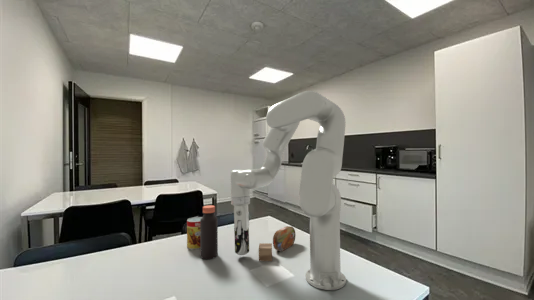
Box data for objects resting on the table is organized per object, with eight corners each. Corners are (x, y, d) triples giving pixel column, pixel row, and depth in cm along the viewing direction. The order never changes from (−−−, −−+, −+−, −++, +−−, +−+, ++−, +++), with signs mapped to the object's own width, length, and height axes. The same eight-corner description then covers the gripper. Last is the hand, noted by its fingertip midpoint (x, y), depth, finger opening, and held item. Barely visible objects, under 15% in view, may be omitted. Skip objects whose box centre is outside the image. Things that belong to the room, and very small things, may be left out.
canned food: (200, 249, 102) (200, 221, 102) (183, 248, 103) (183, 221, 103) (207, 243, 110) (207, 217, 110) (192, 242, 111) (192, 216, 111)
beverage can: (247, 256, 90) (246, 224, 90) (232, 255, 91) (232, 224, 92) (251, 250, 95) (250, 221, 96) (237, 250, 97) (236, 220, 97)
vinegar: (219, 252, 98) (219, 204, 99) (214, 260, 91) (214, 208, 92) (204, 252, 99) (203, 204, 99) (197, 259, 92) (197, 208, 93)
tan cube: (271, 261, 90) (271, 248, 90) (258, 261, 90) (258, 248, 90) (271, 255, 95) (271, 243, 95) (259, 255, 95) (259, 243, 95)
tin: (277, 254, 96) (277, 233, 96) (271, 252, 98) (271, 232, 98) (296, 243, 108) (296, 224, 108) (290, 241, 110) (290, 223, 110)
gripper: (247, 203, 86) (249, 254, 85) (251, 196, 102) (253, 239, 101) (227, 204, 86) (228, 255, 85) (234, 197, 102) (236, 239, 102)
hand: (242, 246), depth 93 cm, fingers closed on beverage can, 3 cm apart
